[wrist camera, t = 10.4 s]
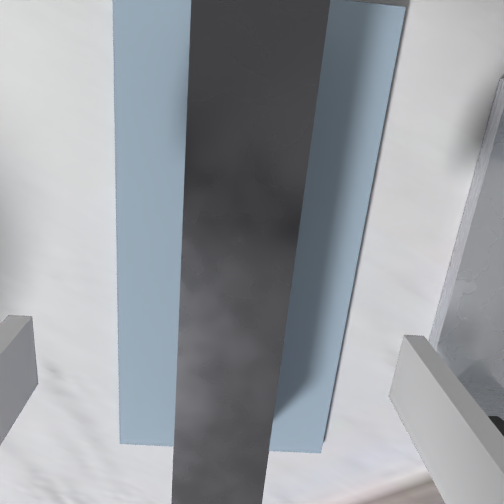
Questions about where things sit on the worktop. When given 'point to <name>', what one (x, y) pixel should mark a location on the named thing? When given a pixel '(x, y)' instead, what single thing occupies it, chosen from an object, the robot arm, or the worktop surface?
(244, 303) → the rail
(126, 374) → the mat
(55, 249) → the worktop surface
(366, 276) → the worktop surface
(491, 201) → the standards
